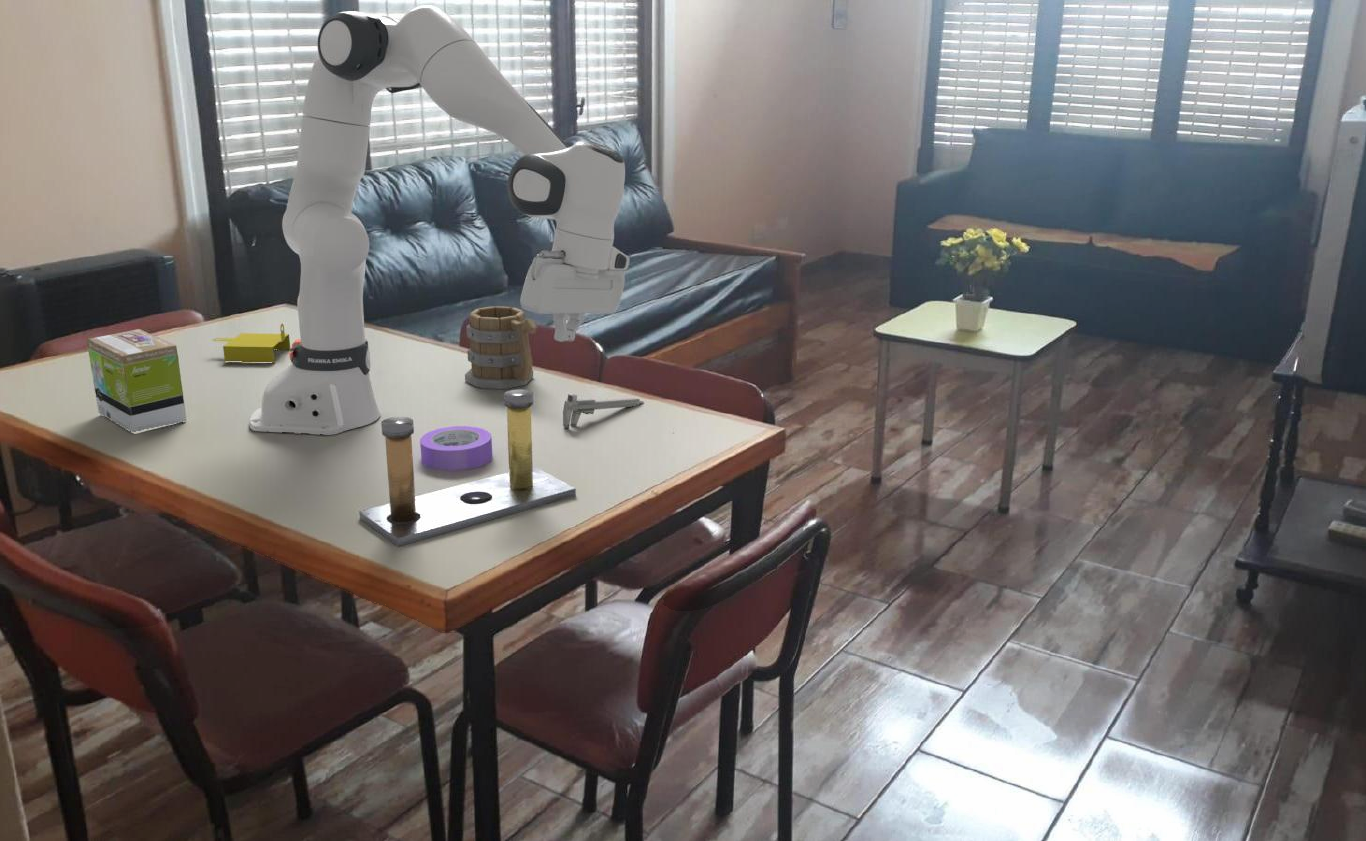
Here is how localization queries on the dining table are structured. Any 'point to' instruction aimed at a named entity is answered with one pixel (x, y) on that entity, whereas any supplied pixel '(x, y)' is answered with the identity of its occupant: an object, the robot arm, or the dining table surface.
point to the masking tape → (456, 448)
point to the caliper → (591, 407)
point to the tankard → (499, 348)
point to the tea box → (137, 379)
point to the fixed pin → (400, 467)
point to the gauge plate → (466, 506)
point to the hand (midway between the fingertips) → (563, 340)
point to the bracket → (255, 346)
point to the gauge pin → (519, 437)
